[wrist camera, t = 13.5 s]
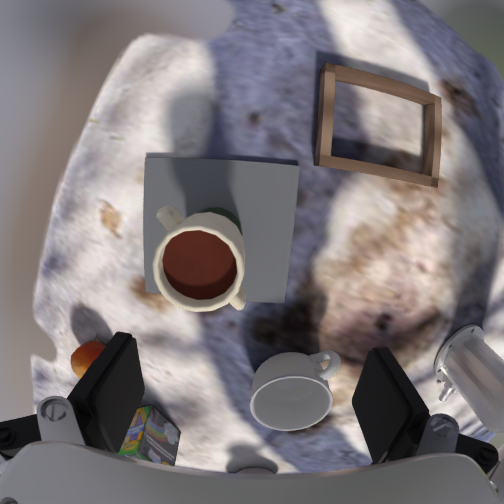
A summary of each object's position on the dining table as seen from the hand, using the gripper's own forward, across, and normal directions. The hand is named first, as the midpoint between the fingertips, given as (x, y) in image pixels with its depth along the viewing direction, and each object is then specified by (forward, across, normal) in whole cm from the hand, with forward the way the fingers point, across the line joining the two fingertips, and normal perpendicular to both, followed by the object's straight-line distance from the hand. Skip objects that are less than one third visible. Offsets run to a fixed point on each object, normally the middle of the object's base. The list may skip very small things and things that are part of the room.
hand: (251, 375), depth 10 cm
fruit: (+25, +22, +21) cm, 39 cm away
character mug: (+24, +4, 0) cm, 25 cm away
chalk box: (+25, +17, +37) cm, 47 cm away
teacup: (+25, -8, +19) cm, 32 cm away
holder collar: (+25, -15, -15) cm, 33 cm away
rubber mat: (+25, +4, 0) cm, 25 cm away
